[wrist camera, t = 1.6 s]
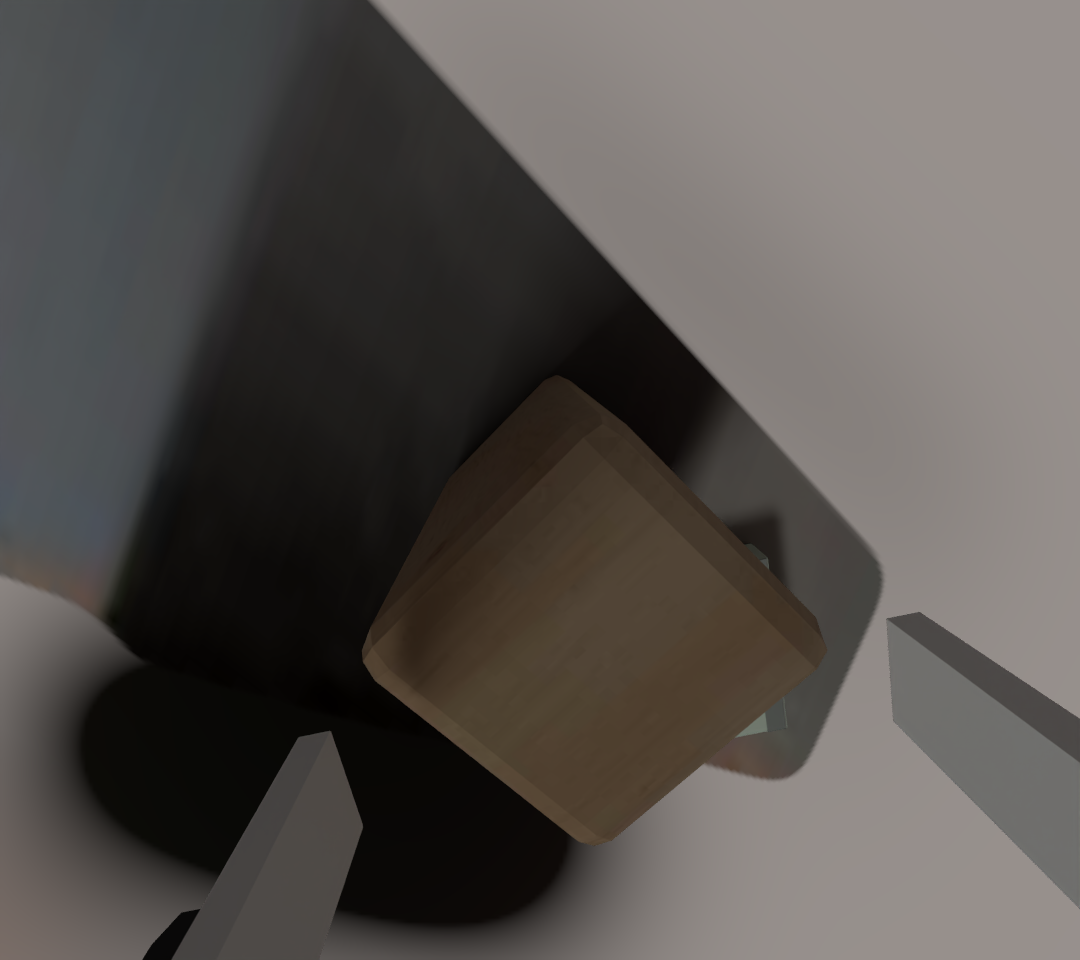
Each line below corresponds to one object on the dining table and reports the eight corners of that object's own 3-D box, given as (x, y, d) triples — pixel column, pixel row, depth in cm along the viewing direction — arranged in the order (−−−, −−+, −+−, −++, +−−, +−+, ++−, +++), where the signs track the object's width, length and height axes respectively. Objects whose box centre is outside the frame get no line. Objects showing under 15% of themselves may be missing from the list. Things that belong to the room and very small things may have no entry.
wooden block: (440, 485, 34) (335, 671, 15) (555, 366, 33) (605, 401, 13) (555, 589, 36) (595, 874, 17) (669, 481, 35) (857, 657, 15)
